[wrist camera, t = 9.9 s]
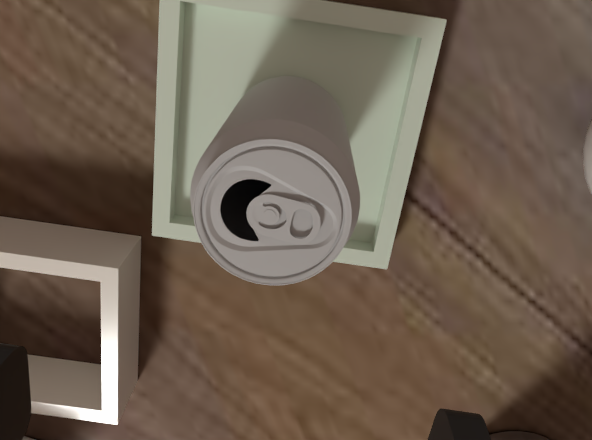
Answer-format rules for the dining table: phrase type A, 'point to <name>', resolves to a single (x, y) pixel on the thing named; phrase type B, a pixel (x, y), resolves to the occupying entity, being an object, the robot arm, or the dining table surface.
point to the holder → (114, 315)
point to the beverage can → (277, 184)
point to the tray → (300, 63)
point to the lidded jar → (588, 156)
